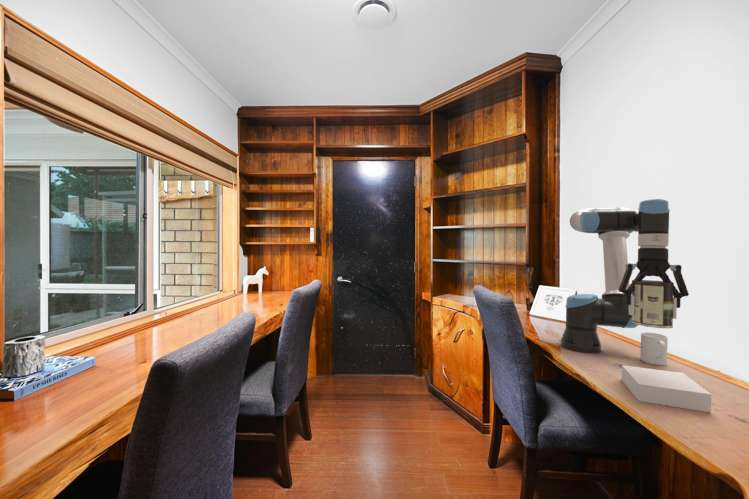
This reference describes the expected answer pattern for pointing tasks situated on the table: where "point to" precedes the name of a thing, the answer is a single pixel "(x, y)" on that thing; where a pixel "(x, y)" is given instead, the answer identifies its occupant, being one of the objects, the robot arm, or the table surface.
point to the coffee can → (653, 304)
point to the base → (666, 388)
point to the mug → (654, 348)
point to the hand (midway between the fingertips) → (651, 316)
